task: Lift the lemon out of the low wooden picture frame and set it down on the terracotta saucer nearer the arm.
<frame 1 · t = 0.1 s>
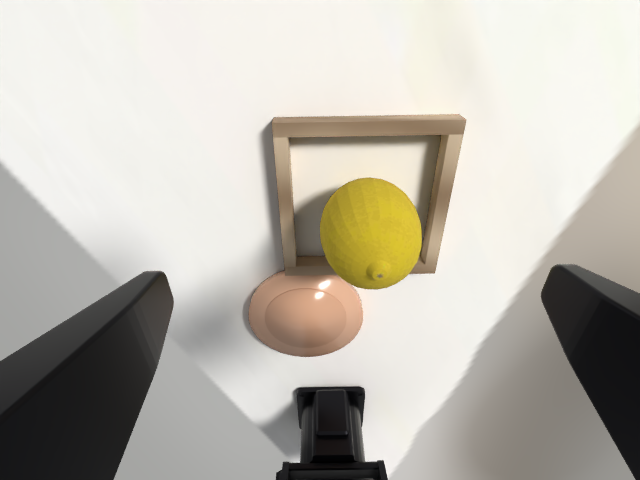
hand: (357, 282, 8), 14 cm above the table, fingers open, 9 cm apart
wooden picture frame: (361, 199, 23), on the table
lemon: (361, 197, 23), resting in wooden picture frame
saucer: (306, 311, 29), on the table
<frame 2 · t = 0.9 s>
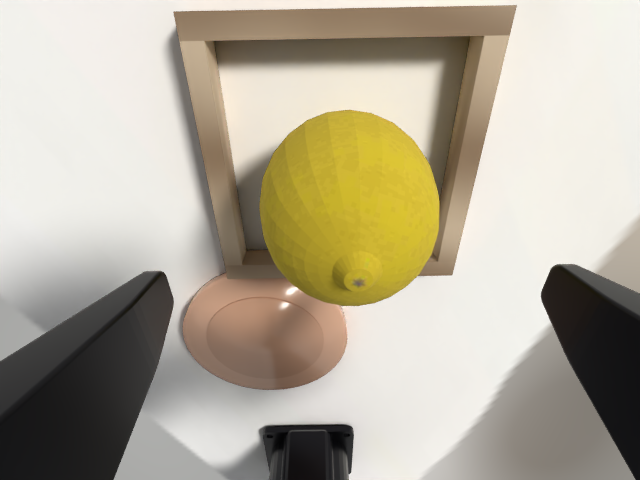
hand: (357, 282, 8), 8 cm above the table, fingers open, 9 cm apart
wooden picture frame: (340, 160, 15), on the table
lemon: (339, 158, 15), resting in wooden picture frame
saucer: (267, 329, 20), on the table
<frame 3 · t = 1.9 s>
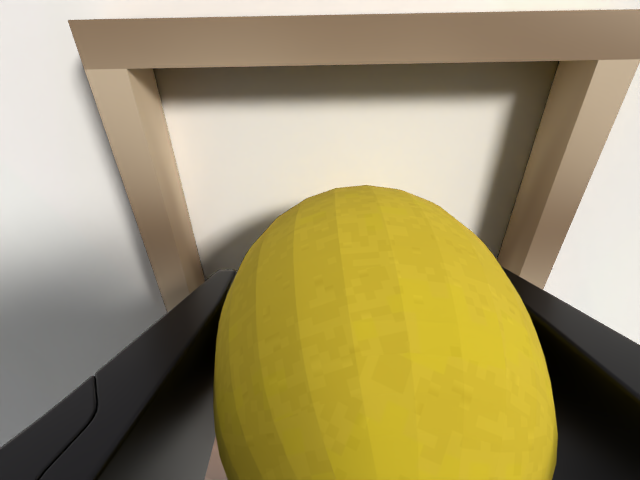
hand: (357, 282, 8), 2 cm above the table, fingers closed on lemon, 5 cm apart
wooden picture frame: (350, 232, 10), on the table
lemon: (349, 228, 10), resting in wooden picture frame, touching gripper
saucer: (252, 427, 16), on the table
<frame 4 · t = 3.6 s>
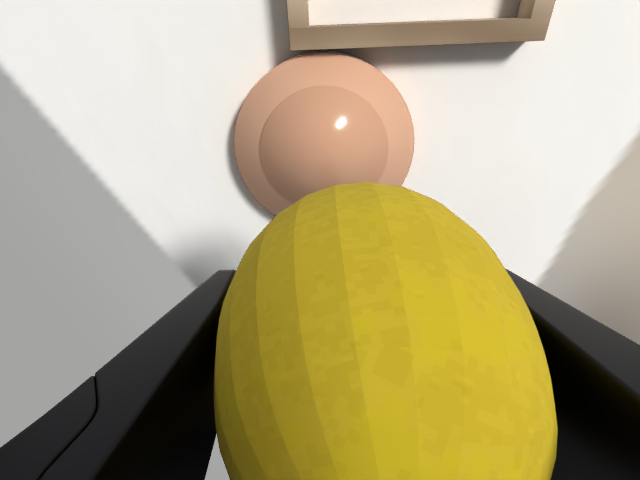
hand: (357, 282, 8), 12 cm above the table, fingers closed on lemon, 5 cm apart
lemon: (349, 225, 10), point 9 cm above the table, touching gripper
saucer: (323, 148, 18), on the table
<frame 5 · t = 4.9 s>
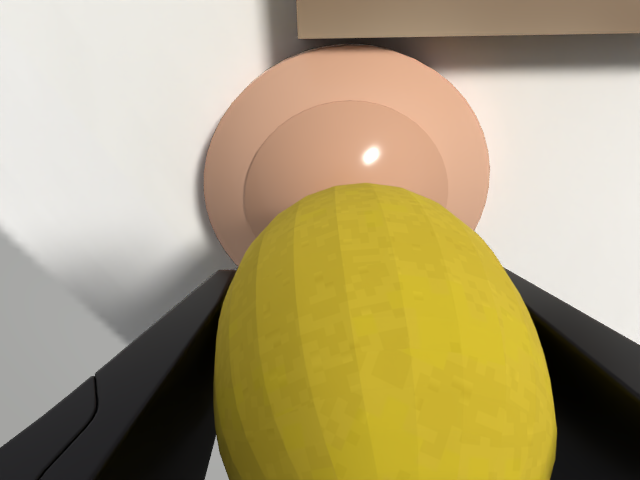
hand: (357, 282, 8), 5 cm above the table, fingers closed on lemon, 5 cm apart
lemon: (349, 226, 10), point 2 cm above the table, touching gripper
saucer: (344, 194, 12), on the table
when the fingers open (4 cm above the table, at t = 5.3 s): lemon drops 1 cm, resting on saucer.
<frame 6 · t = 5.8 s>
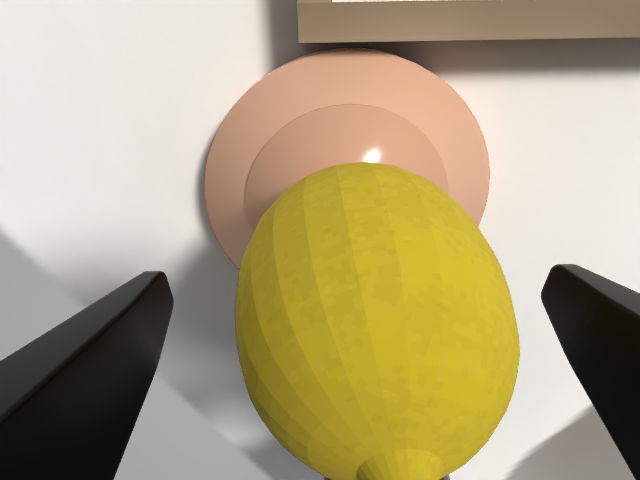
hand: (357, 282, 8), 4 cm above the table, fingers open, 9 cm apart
lemon: (346, 207, 11), point 1 cm above the table, touching saucer
saucer: (344, 197, 12), on the table
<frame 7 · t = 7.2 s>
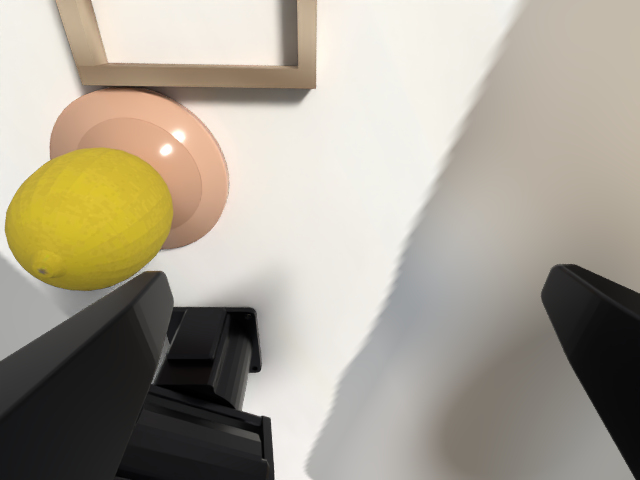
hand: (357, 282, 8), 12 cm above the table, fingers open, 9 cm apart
lemon: (141, 178, 19), point 1 cm above the table, touching saucer
saucer: (147, 173, 20), on the table
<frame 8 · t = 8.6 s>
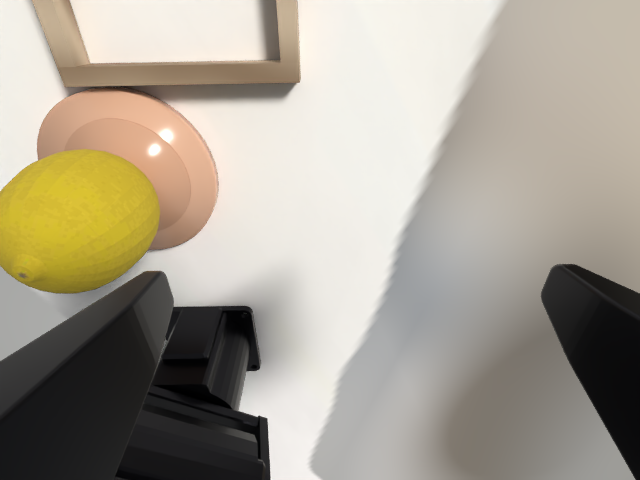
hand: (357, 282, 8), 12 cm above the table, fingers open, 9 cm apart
lemon: (130, 179, 19), point 1 cm above the table, touching saucer
saucer: (135, 174, 19), on the table
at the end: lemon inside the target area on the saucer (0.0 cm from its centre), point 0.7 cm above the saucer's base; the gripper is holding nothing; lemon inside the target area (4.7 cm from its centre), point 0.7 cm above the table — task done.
